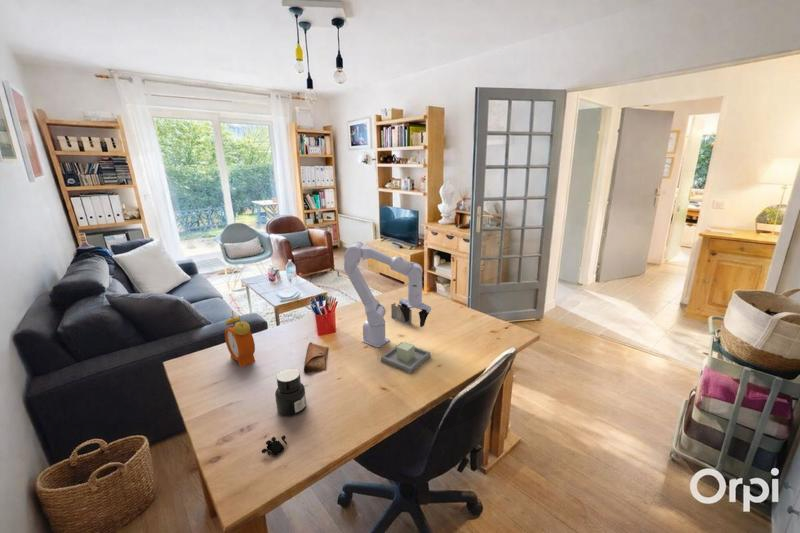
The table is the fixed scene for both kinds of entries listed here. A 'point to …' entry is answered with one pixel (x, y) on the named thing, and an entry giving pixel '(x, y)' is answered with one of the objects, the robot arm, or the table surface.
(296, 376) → the ink bottle
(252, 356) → the alarm clock
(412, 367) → the tray
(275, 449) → the black knobbed ornament
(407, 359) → the cube
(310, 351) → the sunglasses case
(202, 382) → the table surface
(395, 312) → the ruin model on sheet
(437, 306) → the table surface
